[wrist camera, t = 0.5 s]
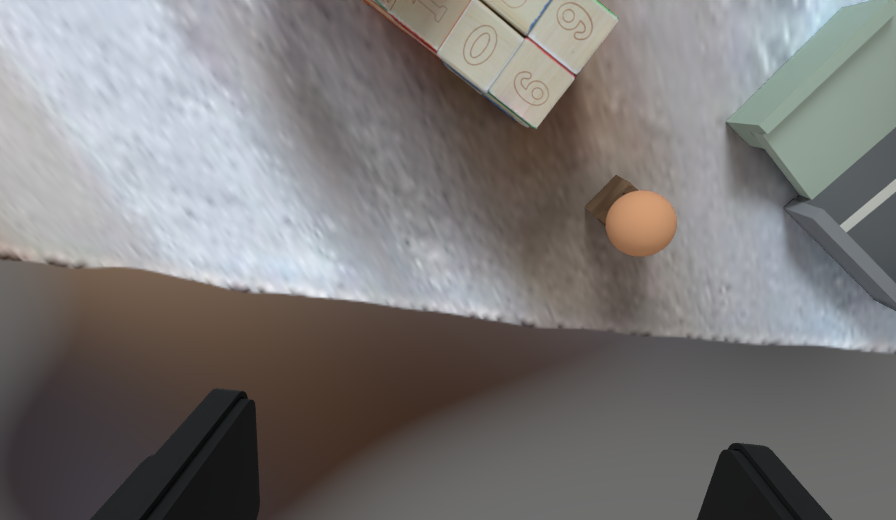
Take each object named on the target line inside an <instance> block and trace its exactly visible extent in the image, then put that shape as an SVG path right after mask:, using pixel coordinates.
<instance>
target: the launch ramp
mask: <svg viewBox="0 0 896 520" xmlns="http://www.w3.org/2000/svg"><path fill="white" fill-rule="evenodd" d="M726 123H727V124H728V125H729V126H730V127H731V128H732V129H733V130H734V131H735V132H736V133H737V134H738V135H739V136H740V137H741V138H742V139H743V140H744V141H745V142H746V143H747V144H748V145H749V146H754V147H759V148H764V149H765V150H766V152H767V153H768V154H769V155H770V157H771V158H772V159H773V161H774V162H775V163H776V165H777V166H778V167H779V168H780V170H781V171H782V172H783V174H784V175H785V176H786V178H787V179H788V180H789V182H790V183H791V184H792V185H793V187H794V188H795V189H796V191H797V192H798V193H799V195H801V196H804V197H806V198H808V199H811V200H812V199H814V198H815V197H816V196H817V195H818V194H819V193H821V192H822V191H823V190H824V189H825V188H826V187H827V186H829V185H830V184H831V183H832V182H833V181H834V180H835V179H837V178H838V177H839V176H840V175H841V174H842V173H844V172H845V171H846V170H847V169H848V168H849V167H850V166H852V165H853V164H854V163H855V162H856V161H857V160H859V159H860V158H861V157H862V156H863V155H864V154H865V153H867V152H868V151H869V150H870V149H871V148H872V147H873V146H875V145H876V144H877V143H878V142H879V141H880V140H882V139H883V138H884V137H885V136H886V135H887V134H888V133H890V132H891V131H892V130H893V129H894V128H895V127H896V0H871V1H867V2H863V3H859V4H855V5H850V6H846V7H842V8H841V9H840V10H839V11H838V12H837V13H836V14H835V15H834V16H833V17H832V18H831V19H830V20H829V21H828V22H827V23H826V24H825V25H824V26H823V27H822V28H821V29H820V30H819V31H818V32H817V33H816V34H815V35H814V36H813V37H812V38H811V39H810V40H809V41H808V42H807V43H806V44H805V45H804V46H803V47H802V48H801V49H800V50H798V51H797V52H796V53H795V54H794V55H793V56H792V57H791V58H790V59H789V60H788V61H787V62H786V63H785V64H784V65H783V66H782V67H781V68H780V69H779V70H778V71H777V72H776V73H775V74H774V75H773V76H772V77H771V78H770V79H769V80H768V81H767V82H766V83H765V84H764V85H763V86H762V87H761V88H760V89H759V90H758V91H757V92H756V93H755V94H754V95H753V96H752V97H751V98H750V99H749V100H748V101H747V102H746V103H745V104H744V105H743V106H742V107H740V108H739V109H738V110H737V111H736V112H735V113H734V114H733V115H732V116H731V117H730V118H729V119H728V120H727V121H726Z"/></svg>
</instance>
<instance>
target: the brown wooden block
mask: <svg viewBox="0 0 896 520" xmlns="http://www.w3.org/2000/svg"><path fill="white" fill-rule="evenodd" d="M633 191H638V190H637V189H636V188H635V187H634V186H633V185H632V184H631V183H630V182H628V181H626V180H624V179H622V178H621V177H619V176H617V175H616V176H615V177H614V178H613V179H612V180H611V181H610V182H609V183H608V184H607V185H606V186H605V187H604V188H603V189H602V190H601V191H600V192H599V193H598V194H597V195H596V196H595V197H594V198H593V199H592V200H591V201H590V202H589V203H588V204H587V205H586V206H585V208H586V209H588V210H589V211H590V212H591V213H592V214H593V215H594V216H595V217H596V218H597V219H598V220H599V221H600V222H601V223H602V224H604V225H605V226H606V217H607V214H608V211H609V209H610V208H611V206H612V205H613V204H614V202H615V201H616V200H618V199H619V198H620V197H622V196H623V195H625V194H627V193H630V192H633Z"/></svg>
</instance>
